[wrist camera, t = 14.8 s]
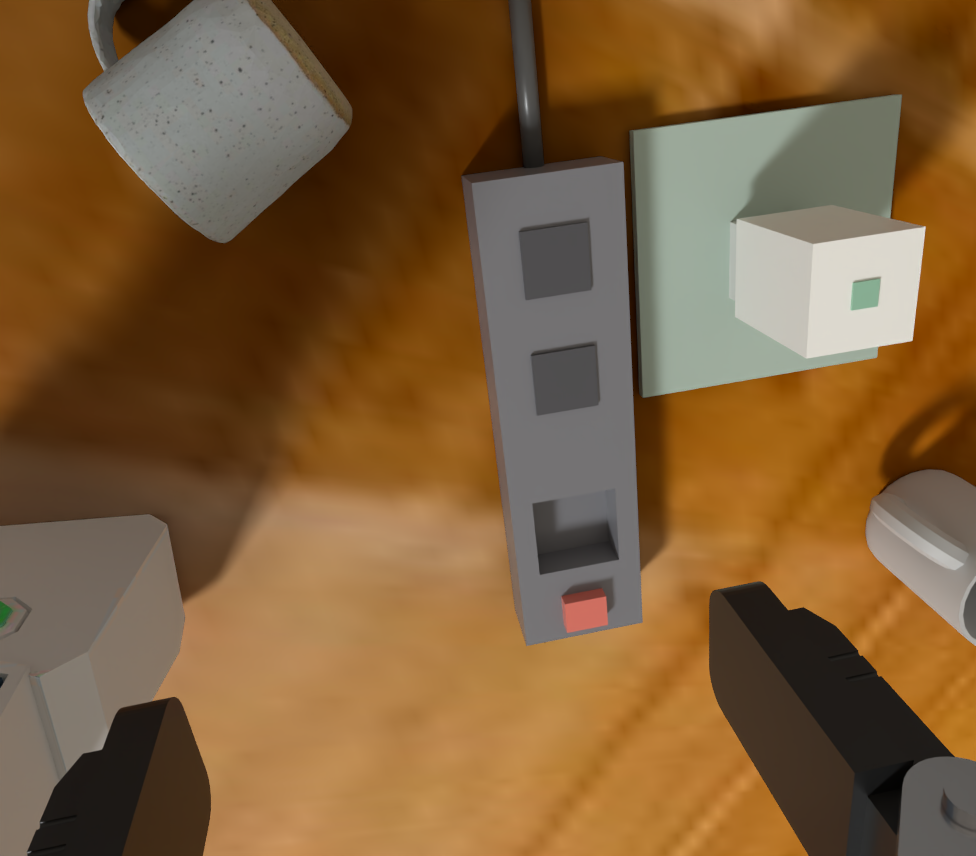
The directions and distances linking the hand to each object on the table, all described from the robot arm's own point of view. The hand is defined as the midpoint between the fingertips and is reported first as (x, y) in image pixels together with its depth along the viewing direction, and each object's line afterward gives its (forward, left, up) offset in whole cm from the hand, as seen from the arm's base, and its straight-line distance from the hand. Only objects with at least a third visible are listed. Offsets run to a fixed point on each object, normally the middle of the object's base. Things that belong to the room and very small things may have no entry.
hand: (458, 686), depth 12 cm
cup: (+20, +30, -30) cm, 47 cm away
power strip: (+5, +8, -30) cm, 32 cm away
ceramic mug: (-9, -6, -30) cm, 32 cm away
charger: (+2, +20, -30) cm, 36 cm away
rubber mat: (+2, +20, -30) cm, 36 cm away
